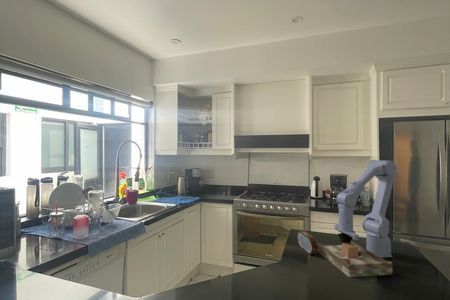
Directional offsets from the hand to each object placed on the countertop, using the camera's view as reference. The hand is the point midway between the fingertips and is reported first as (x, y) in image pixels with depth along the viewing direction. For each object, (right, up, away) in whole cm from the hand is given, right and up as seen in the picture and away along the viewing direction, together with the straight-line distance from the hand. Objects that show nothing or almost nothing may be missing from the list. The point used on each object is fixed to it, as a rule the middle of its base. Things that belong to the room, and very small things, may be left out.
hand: (345, 250), depth 108 cm
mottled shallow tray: (+1, -4, -3) cm, 5 cm away
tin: (-15, -4, +9) cm, 17 cm away
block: (0, -1, -3) cm, 3 cm away
